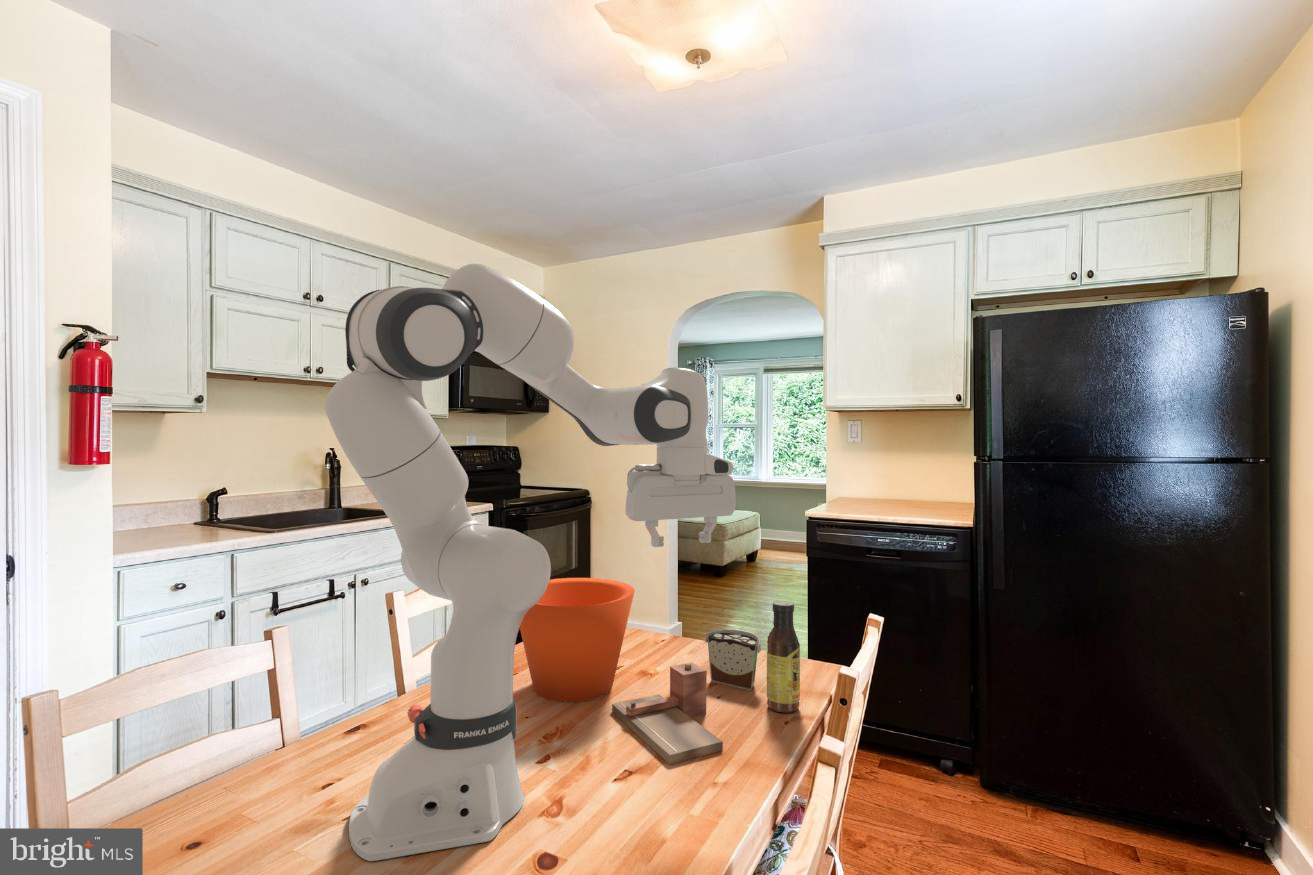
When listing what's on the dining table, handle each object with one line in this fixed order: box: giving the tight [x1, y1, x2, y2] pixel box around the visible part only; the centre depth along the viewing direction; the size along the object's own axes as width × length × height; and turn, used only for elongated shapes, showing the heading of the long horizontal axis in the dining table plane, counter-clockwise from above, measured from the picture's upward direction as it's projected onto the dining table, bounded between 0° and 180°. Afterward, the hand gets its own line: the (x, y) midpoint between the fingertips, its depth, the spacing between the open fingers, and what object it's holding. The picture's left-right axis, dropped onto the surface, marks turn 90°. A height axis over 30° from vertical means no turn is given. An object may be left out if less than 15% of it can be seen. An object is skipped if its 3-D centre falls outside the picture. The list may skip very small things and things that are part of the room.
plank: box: [611, 694, 724, 765], centre depth 113 cm, size 10×22×2 cm, turn 28°
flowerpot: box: [519, 577, 635, 703], centre depth 133 cm, size 25×25×20 cm
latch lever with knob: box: [626, 662, 708, 718], centre depth 119 cm, size 15×5×9 cm, turn 118°
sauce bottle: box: [766, 600, 801, 714], centre depth 123 cm, size 7×6×20 cm
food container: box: [704, 629, 762, 691], centre depth 136 cm, size 12×6×10 cm, turn 58°
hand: (681, 544), depth 110 cm, fingers open, 8 cm apart
